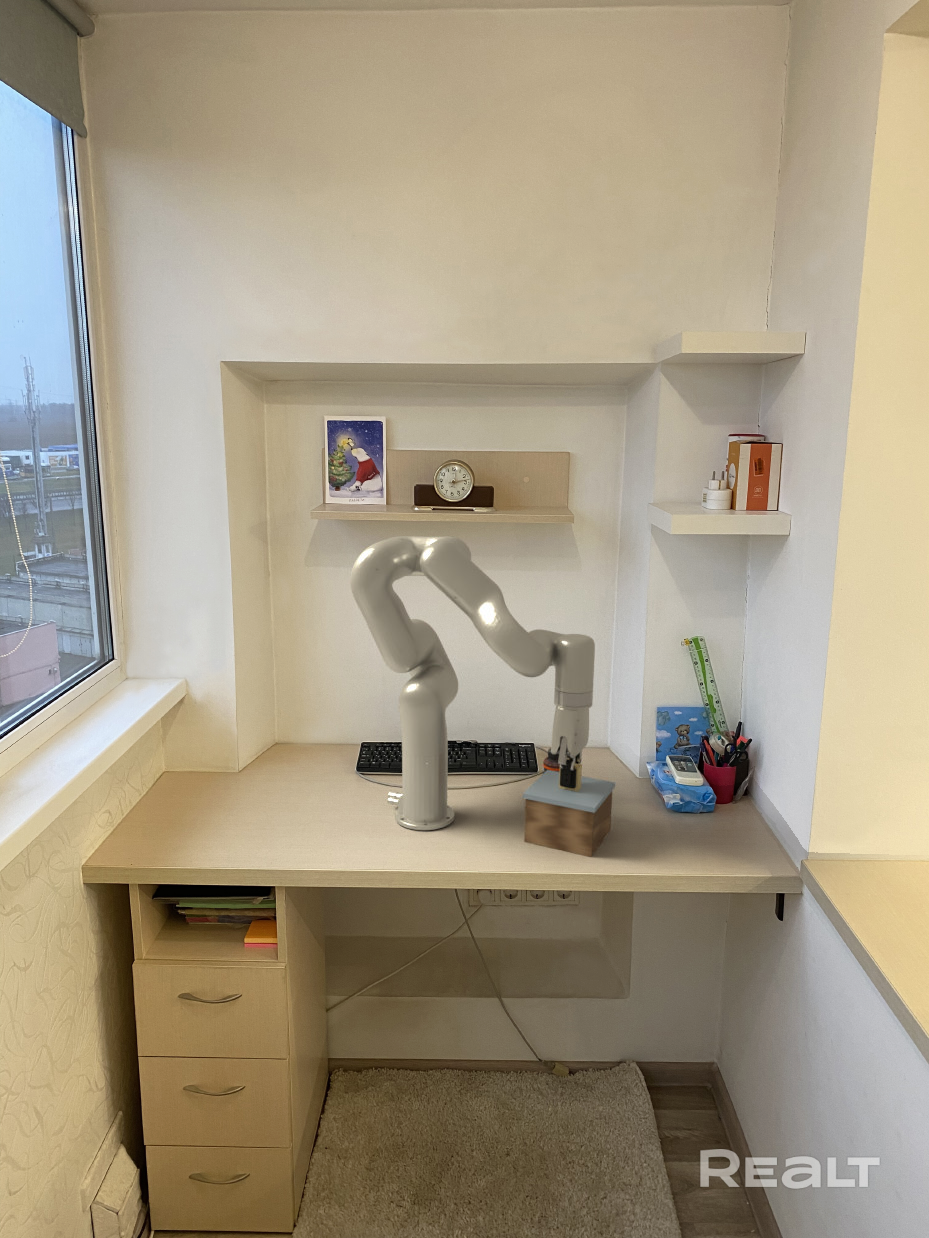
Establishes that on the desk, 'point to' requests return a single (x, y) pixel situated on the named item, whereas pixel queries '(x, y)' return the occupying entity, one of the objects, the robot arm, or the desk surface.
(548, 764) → the supplement bottle
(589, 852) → the box
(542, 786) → the lid
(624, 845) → the desk surface
